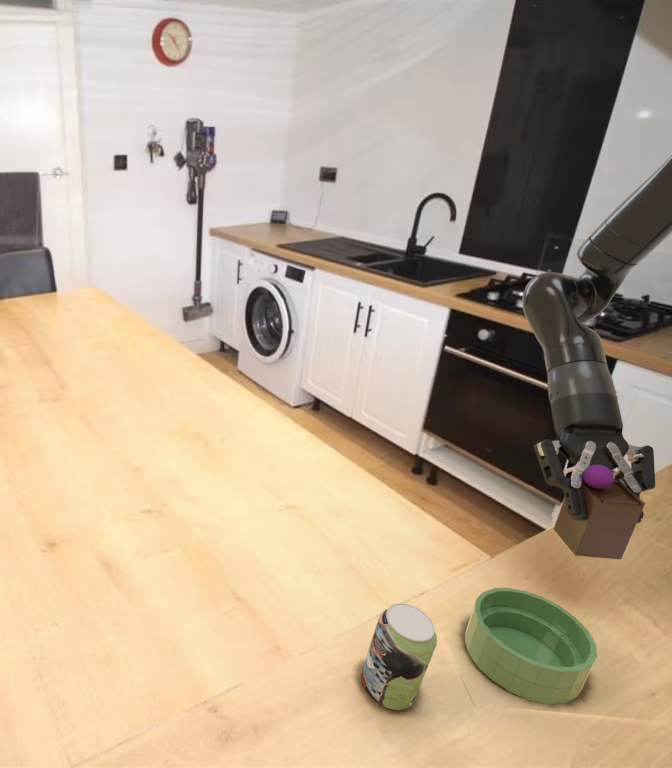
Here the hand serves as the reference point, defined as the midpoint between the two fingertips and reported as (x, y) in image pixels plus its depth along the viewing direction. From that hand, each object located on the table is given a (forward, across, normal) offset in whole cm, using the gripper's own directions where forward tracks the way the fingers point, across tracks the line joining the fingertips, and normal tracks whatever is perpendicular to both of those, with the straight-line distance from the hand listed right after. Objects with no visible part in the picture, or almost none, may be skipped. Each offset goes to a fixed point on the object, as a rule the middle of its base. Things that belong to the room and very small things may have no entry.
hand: (606, 520), depth 70 cm
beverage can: (+23, -29, -3) cm, 37 cm away
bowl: (+18, -12, +2) cm, 22 cm away
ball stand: (+3, 0, +5) cm, 6 cm away
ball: (-5, -1, -2) cm, 6 cm away
